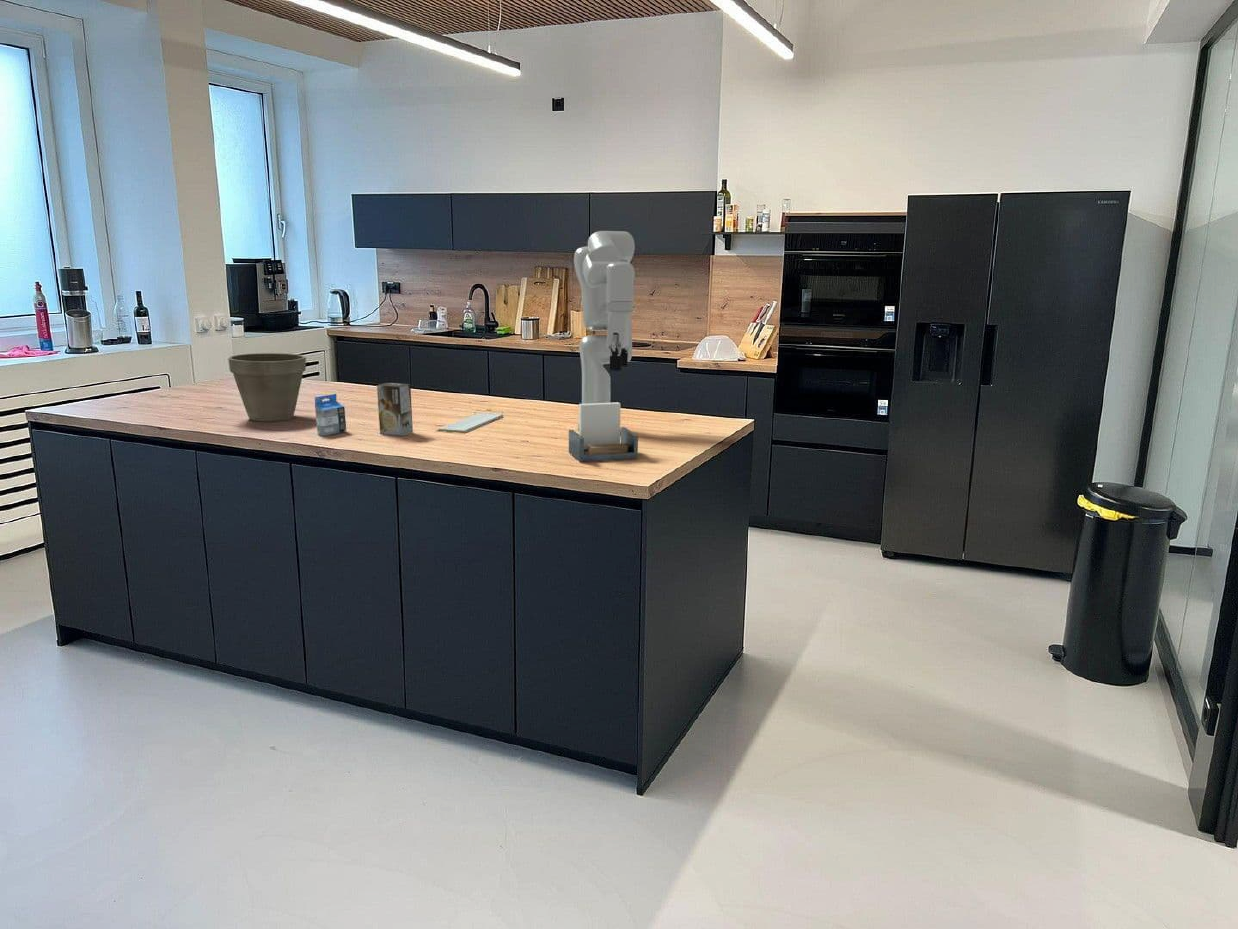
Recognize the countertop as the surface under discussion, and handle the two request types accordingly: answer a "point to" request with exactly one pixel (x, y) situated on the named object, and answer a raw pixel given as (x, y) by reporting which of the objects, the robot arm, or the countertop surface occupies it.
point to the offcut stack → (606, 448)
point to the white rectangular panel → (599, 423)
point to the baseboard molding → (471, 422)
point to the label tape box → (329, 415)
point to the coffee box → (395, 409)
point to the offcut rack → (578, 453)
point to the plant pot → (268, 383)
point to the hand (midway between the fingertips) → (618, 368)
